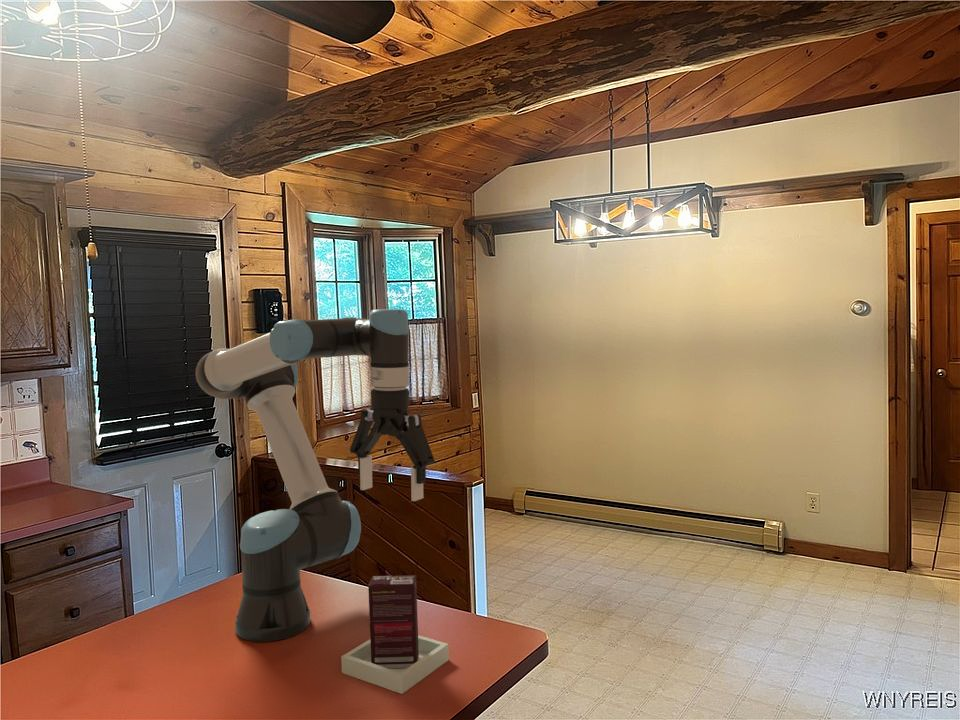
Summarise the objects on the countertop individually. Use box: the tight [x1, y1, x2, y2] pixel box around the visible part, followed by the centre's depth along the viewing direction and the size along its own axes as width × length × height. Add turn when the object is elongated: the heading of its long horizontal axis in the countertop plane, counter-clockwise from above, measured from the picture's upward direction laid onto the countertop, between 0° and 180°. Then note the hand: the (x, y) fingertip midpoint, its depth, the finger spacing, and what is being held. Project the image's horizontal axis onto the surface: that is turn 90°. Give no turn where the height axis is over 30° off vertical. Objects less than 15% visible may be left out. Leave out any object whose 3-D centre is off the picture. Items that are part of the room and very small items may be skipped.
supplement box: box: [367, 574, 419, 668], centre depth 134 cm, size 9×5×16 cm, turn 91°
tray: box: [340, 634, 450, 695], centre depth 134 cm, size 14×14×3 cm
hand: (391, 494), depth 144 cm, fingers open, 13 cm apart
